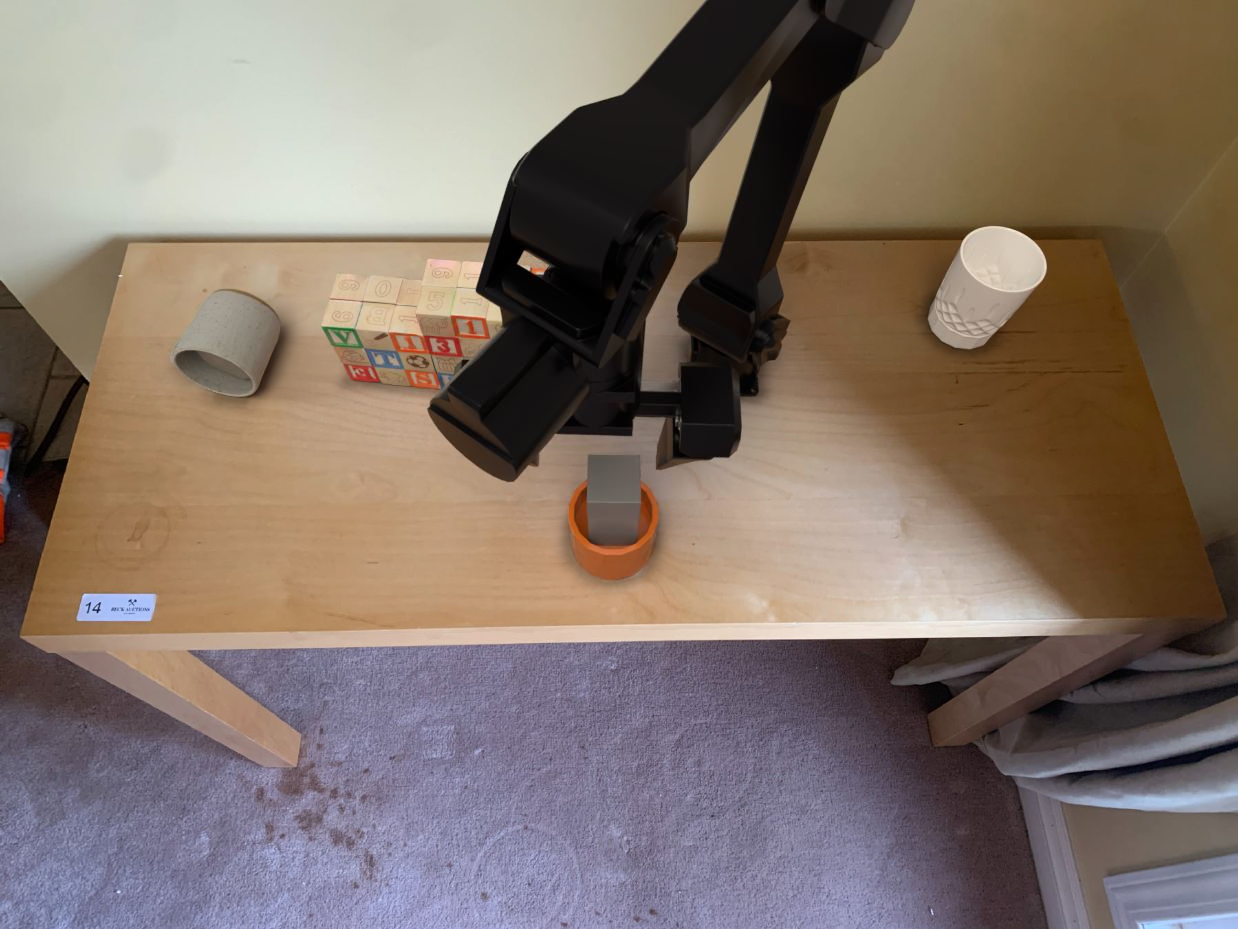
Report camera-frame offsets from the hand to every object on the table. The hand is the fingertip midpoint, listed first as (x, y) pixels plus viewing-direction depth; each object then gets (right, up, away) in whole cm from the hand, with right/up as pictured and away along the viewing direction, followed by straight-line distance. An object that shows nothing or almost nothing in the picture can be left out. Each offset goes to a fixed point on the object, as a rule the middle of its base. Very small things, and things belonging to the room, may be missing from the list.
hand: (597, 462), depth 59 cm
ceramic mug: (-37, +10, +19) cm, 43 cm away
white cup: (+37, +14, +23) cm, 46 cm away
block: (+1, -5, +8) cm, 9 cm away
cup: (+1, -7, +11) cm, 13 cm away
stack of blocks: (-14, +10, +19) cm, 26 cm away
